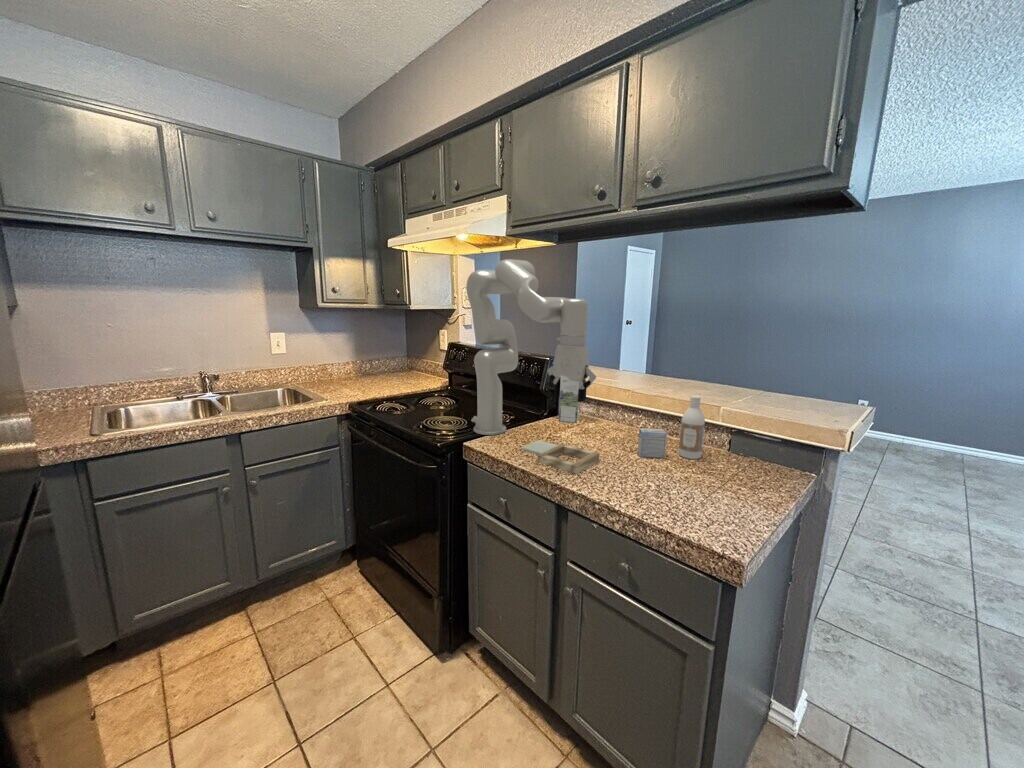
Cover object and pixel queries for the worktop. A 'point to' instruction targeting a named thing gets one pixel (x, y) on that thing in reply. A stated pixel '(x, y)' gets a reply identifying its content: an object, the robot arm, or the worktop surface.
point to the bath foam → (692, 430)
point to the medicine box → (652, 443)
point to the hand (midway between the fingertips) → (569, 398)
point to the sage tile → (538, 447)
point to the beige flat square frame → (585, 462)
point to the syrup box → (568, 400)
